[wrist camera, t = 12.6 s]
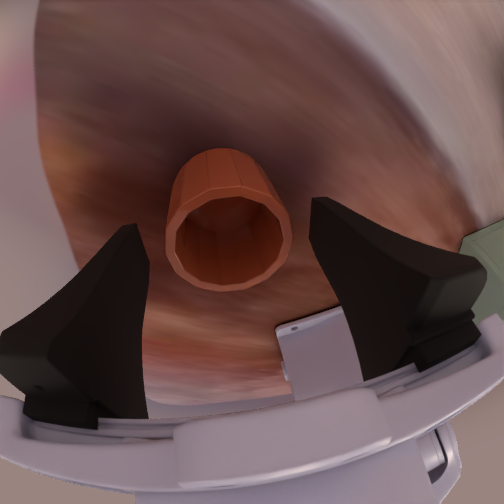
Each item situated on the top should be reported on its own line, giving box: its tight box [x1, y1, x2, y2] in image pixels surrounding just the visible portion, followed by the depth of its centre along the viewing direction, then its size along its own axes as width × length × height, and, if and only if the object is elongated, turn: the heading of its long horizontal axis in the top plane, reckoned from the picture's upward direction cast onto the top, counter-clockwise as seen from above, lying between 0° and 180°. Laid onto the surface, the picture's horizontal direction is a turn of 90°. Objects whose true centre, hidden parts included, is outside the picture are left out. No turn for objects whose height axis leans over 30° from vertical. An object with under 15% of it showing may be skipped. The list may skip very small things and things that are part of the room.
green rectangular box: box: [459, 219, 504, 325], centre depth 20 cm, size 13×12×8 cm
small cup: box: [165, 148, 293, 292], centre depth 12 cm, size 5×5×4 cm
